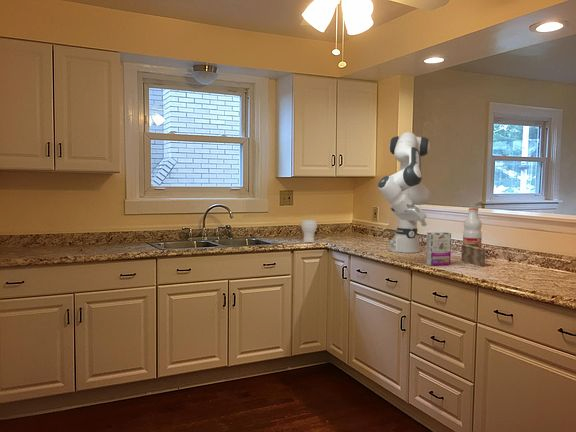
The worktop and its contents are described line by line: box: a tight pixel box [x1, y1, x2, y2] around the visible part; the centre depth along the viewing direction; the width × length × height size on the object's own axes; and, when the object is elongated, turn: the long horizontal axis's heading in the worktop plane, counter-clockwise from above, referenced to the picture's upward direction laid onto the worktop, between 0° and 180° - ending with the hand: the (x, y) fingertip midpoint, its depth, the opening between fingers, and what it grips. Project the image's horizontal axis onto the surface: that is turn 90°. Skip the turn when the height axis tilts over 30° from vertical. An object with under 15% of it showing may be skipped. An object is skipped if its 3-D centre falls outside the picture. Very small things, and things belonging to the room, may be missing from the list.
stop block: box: [460, 243, 486, 268], centre depth 250 cm, size 18×2×9 cm, turn 13°
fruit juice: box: [462, 207, 483, 248], centre depth 264 cm, size 9×9×28 cm
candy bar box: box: [426, 231, 452, 267], centre depth 244 cm, size 11×5×16 cm, turn 106°
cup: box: [300, 219, 318, 243], centre depth 331 cm, size 11×11×15 cm
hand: (419, 225), depth 241 cm, fingers open, 8 cm apart
